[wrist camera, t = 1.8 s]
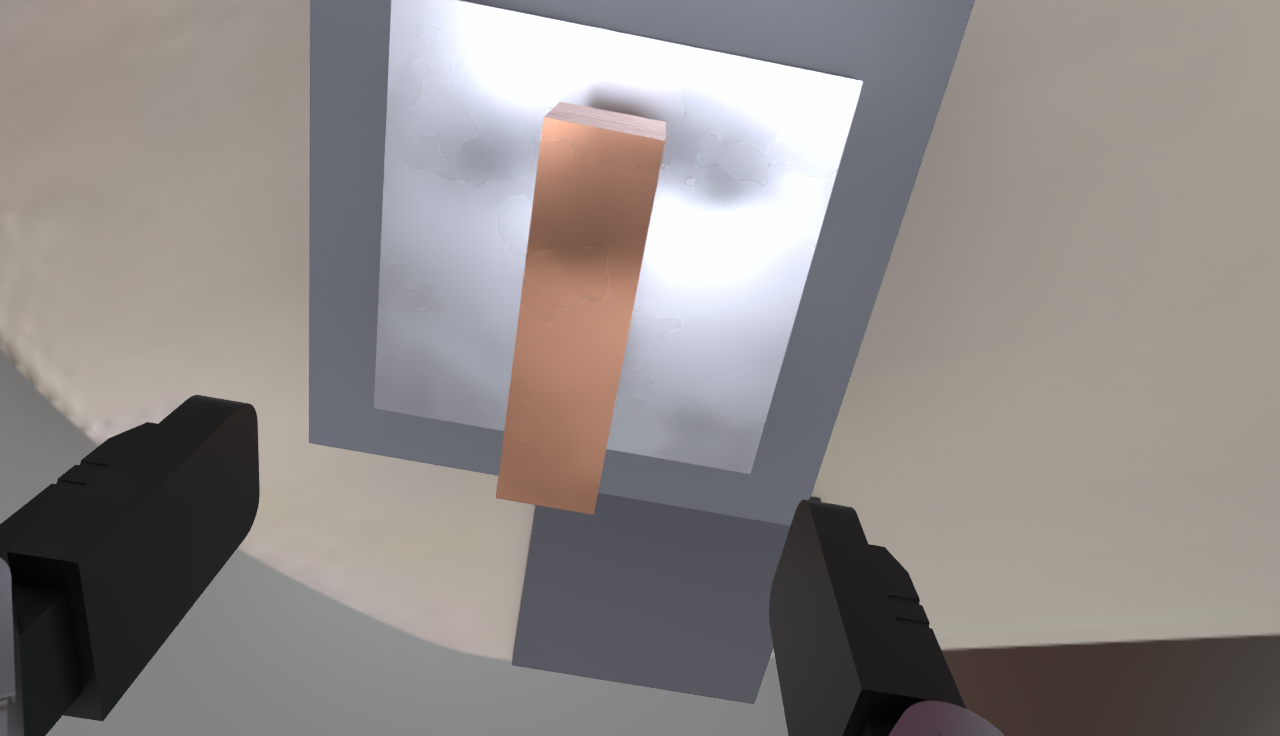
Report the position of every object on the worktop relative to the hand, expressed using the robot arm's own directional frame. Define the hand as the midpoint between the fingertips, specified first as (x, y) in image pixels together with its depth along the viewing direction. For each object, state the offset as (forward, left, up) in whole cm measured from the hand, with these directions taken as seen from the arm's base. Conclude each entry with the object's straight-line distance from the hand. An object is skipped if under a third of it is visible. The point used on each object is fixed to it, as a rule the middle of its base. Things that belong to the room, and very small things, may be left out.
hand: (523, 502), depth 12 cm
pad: (-5, +17, -19) cm, 26 cm away
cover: (0, 0, -16) cm, 16 cm away
